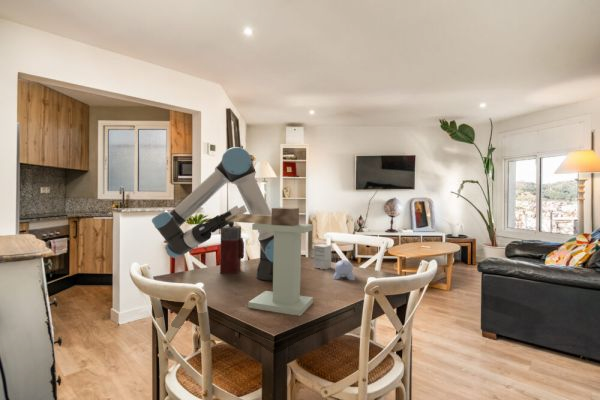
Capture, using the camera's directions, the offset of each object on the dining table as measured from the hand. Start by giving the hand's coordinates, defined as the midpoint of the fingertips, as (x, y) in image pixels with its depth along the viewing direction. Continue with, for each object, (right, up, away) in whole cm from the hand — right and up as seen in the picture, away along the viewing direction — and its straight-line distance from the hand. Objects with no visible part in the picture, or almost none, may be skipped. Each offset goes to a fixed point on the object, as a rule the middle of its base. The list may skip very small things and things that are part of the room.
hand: (241, 208), depth 122 cm
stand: (+16, -36, -5) cm, 39 cm away
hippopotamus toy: (+45, -35, +35) cm, 67 cm away
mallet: (+7, -5, -2) cm, 9 cm away
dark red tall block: (-12, -34, +42) cm, 55 cm away
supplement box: (+35, -35, +54) cm, 73 cm away
